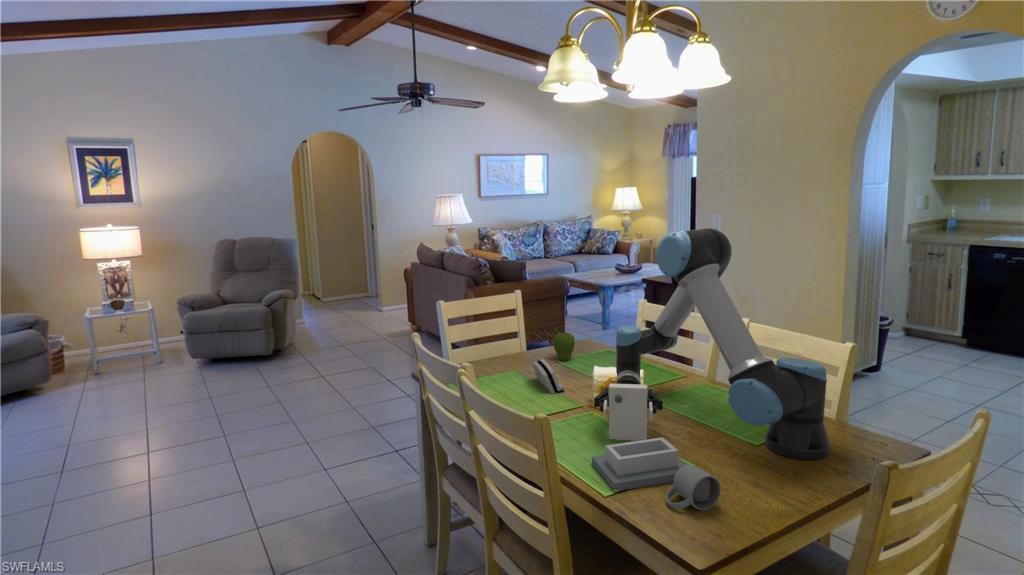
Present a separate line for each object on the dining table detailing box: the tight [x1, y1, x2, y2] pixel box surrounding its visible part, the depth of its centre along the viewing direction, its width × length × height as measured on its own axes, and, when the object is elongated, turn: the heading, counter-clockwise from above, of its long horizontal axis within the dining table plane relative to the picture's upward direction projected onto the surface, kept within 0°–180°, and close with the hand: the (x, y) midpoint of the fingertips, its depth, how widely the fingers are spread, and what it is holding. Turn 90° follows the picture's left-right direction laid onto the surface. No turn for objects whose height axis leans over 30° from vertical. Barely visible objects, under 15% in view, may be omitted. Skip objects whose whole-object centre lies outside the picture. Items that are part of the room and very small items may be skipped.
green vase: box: [552, 331, 576, 362], centre depth 235 cm, size 9×8×12 cm
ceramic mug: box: [665, 464, 722, 511], centre depth 131 cm, size 11×8×8 cm
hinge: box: [531, 358, 566, 394], centre depth 207 cm, size 17×5×10 cm, turn 14°
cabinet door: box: [608, 382, 648, 442], centre depth 163 cm, size 10×4×15 cm, turn 79°
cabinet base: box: [591, 436, 687, 491], centre depth 146 cm, size 20×14×6 cm
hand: (627, 414), depth 159 cm, fingers open, 11 cm apart
